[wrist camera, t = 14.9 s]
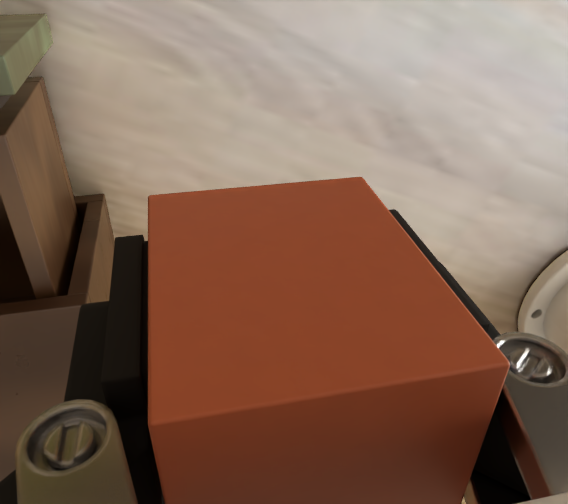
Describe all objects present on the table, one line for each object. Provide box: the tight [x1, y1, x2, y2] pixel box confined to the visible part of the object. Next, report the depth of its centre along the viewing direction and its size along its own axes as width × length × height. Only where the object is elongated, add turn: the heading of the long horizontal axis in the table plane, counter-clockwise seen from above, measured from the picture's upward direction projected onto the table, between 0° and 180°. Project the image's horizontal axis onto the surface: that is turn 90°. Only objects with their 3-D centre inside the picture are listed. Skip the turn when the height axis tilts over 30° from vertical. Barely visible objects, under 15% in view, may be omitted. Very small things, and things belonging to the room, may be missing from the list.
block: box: [148, 177, 510, 504], centre depth 9 cm, size 4×4×6 cm
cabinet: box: [0, 194, 115, 482], centre depth 27 cm, size 16×13×10 cm
